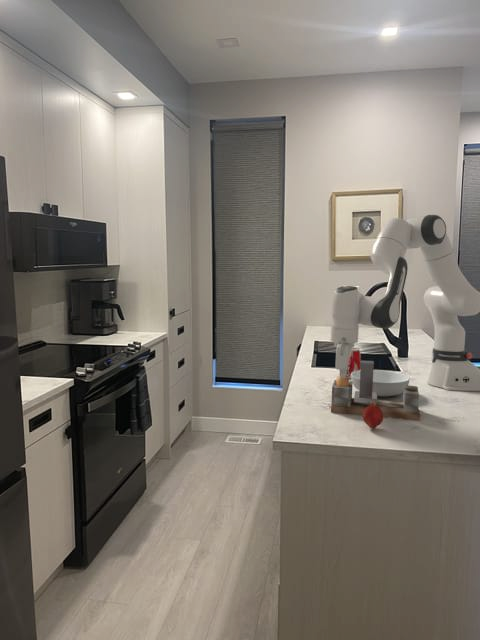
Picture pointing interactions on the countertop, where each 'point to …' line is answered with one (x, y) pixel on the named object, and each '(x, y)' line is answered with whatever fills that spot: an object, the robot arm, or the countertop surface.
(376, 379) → the serving bowl
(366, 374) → the carriage
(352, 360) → the soda can
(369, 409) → the onion
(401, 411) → the rail deck
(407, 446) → the countertop surface
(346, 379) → the gauge button
